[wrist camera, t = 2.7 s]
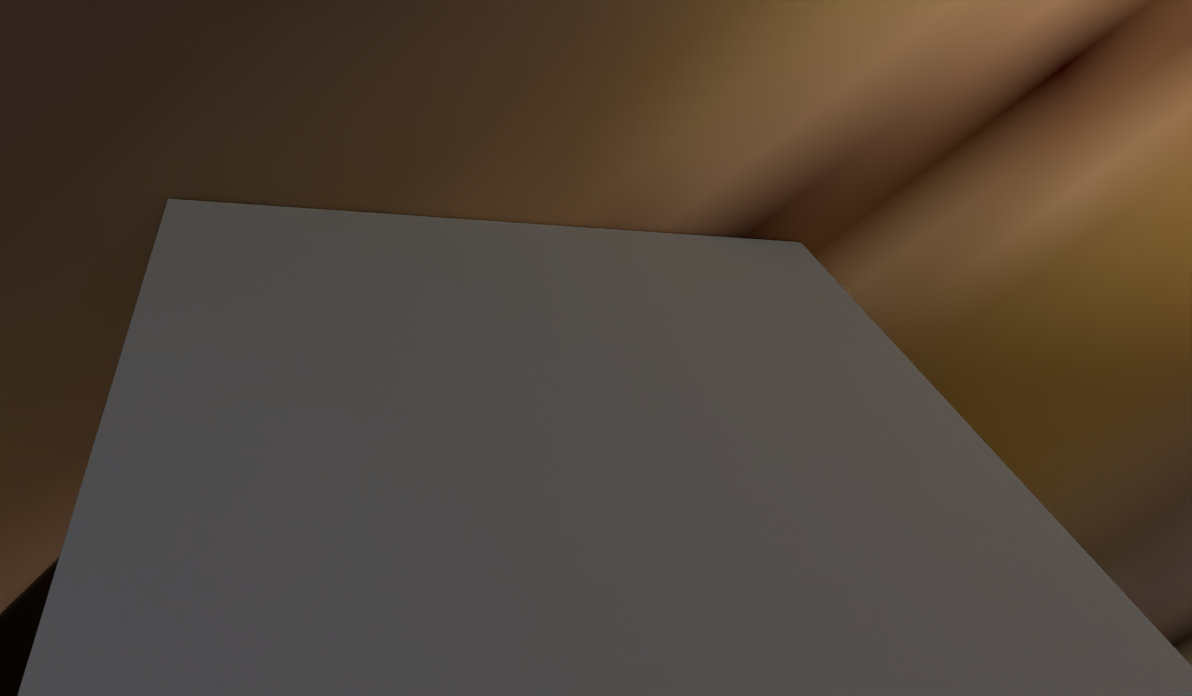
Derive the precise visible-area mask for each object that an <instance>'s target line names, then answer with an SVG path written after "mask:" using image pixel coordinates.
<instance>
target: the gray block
mask: <svg viewBox="0 0 1192 696" xmlns="http://www.w3.org/2000/svg"><path fill="white" fill-rule="evenodd" d="M18 696H1192V666H1191V665H1190V664H1189V663H1188V662H1187V661H1186V660H1185V659H1184V657H1183V656H1182V655H1181V654H1180V653H1179V652H1178V651H1177V650H1176V649H1175V648H1174V647H1173V645H1172V644H1171V643H1170V642H1169V641H1168V640H1167V639H1166V638H1165V637H1164V636H1163V635H1162V634H1161V632H1160V631H1159V630H1158V629H1157V628H1156V627H1155V626H1154V625H1153V624H1152V623H1151V622H1150V621H1149V619H1148V618H1147V617H1146V616H1145V615H1144V614H1143V613H1142V612H1141V611H1140V610H1139V609H1138V608H1137V606H1136V605H1135V604H1134V603H1133V602H1132V601H1131V600H1130V599H1129V598H1128V597H1127V596H1126V594H1125V593H1124V592H1123V591H1122V590H1121V589H1120V588H1119V587H1118V586H1117V585H1116V584H1115V583H1114V581H1113V580H1112V579H1111V578H1110V577H1109V576H1108V575H1107V574H1106V573H1105V572H1104V571H1103V570H1102V568H1101V567H1100V566H1099V565H1098V564H1097V563H1096V562H1095V561H1094V560H1093V559H1092V558H1091V557H1090V555H1089V554H1088V553H1087V552H1086V551H1085V550H1084V549H1083V548H1082V547H1081V546H1080V545H1079V543H1078V542H1077V541H1076V540H1075V539H1074V538H1073V537H1072V536H1071V535H1070V534H1069V533H1068V532H1067V530H1066V529H1065V528H1064V527H1063V526H1062V525H1061V524H1060V523H1059V522H1058V521H1057V520H1056V519H1055V517H1054V516H1053V515H1052V514H1051V513H1050V512H1049V511H1048V510H1047V509H1046V508H1045V507H1044V506H1043V504H1042V503H1041V502H1040V501H1039V500H1038V499H1037V498H1036V497H1035V496H1034V495H1033V494H1032V492H1031V491H1030V490H1029V489H1028V488H1027V487H1026V486H1025V485H1024V484H1023V483H1022V482H1021V481H1020V479H1019V478H1018V477H1017V476H1016V475H1015V474H1014V473H1013V472H1012V471H1011V470H1010V469H1009V468H1008V466H1007V465H1006V464H1005V463H1004V462H1003V461H1002V460H1001V459H1000V458H999V457H998V456H997V455H996V453H995V452H994V451H993V450H992V449H991V448H990V447H989V446H988V445H987V444H986V443H985V441H984V440H983V439H982V438H981V437H980V436H979V435H978V434H977V433H976V432H975V431H974V430H973V428H972V427H971V426H970V425H969V424H968V423H967V422H966V421H965V420H964V419H963V418H962V417H961V415H960V414H959V413H958V412H957V411H956V410H955V409H954V408H953V407H952V406H951V405H950V404H949V402H948V401H947V400H946V399H945V398H944V397H943V396H942V395H941V394H940V393H939V392H938V390H937V389H936V388H935V387H934V386H933V385H932V384H931V383H930V382H929V381H928V380H927V379H926V377H925V376H924V375H923V374H922V373H921V372H920V371H919V370H918V369H917V368H916V367H915V366H914V364H913V363H912V362H911V361H910V360H909V359H908V358H907V357H906V356H905V355H904V354H903V353H902V351H901V350H900V349H899V348H898V347H897V346H896V345H895V344H894V343H893V342H892V341H891V339H890V338H889V337H888V336H887V335H886V334H885V333H884V332H883V331H882V330H881V329H880V328H879V326H878V325H877V324H876V323H875V322H874V321H873V320H872V319H871V318H870V317H869V316H868V315H867V313H866V312H865V311H864V310H863V309H862V308H861V307H860V306H859V305H858V304H857V303H856V302H855V300H854V299H853V298H852V297H851V296H850V295H849V294H848V293H847V292H846V291H845V290H844V288H843V287H842V286H841V285H840V284H839V283H838V282H837V281H836V280H835V279H834V278H833V277H832V275H831V274H830V273H829V272H828V271H827V270H826V269H825V268H824V267H823V266H822V265H821V264H820V262H819V261H818V260H817V259H816V258H815V257H814V256H813V255H812V254H811V253H810V252H809V251H808V249H807V248H806V247H805V246H804V245H803V244H802V243H801V242H791V241H776V240H762V239H747V238H733V237H718V236H703V235H689V234H674V233H660V232H645V231H631V230H616V229H602V228H587V227H573V226H558V225H544V224H529V223H515V222H500V221H485V220H471V219H456V218H442V217H427V216H413V215H398V214H384V213H369V212H355V211H340V210H326V209H311V208H296V207H282V206H267V205H253V204H238V203H224V202H209V201H195V200H180V199H168V200H167V204H166V207H165V210H164V214H163V217H162V220H161V223H160V227H159V230H158V233H157V237H156V240H155V243H154V247H153V250H152V253H151V256H150V260H149V263H148V266H147V270H146V273H145V276H144V280H143V283H142V286H141V289H140V293H139V296H138V299H137V303H136V306H135V309H134V313H133V316H132V319H131V322H130V326H129V329H128V332H127V336H126V339H125V342H124V346H123V349H122V352H121V356H120V359H119V362H118V365H117V369H116V372H115V375H114V379H113V382H112V385H111V389H110V392H109V395H108V398H107V402H106V405H105V408H104V412H103V415H102V418H101V422H100V425H99V428H98V432H97V435H96V438H95V441H94V445H93V448H92V451H91V455H90V458H89V461H88V465H87V468H86V471H85V474H84V478H83V481H82V484H81V488H80V491H79V494H78V498H77V501H76V504H75V507H74V511H73V514H72V517H71V521H70V524H69V527H68V531H67V534H66V537H65V541H64V544H63V547H62V550H61V554H60V557H59V560H58V564H57V567H56V570H55V574H54V577H53V580H52V583H51V587H50V590H49V593H48V597H47V600H46V603H45V607H44V610H43V613H42V616H41V620H40V623H39V626H38V630H37V633H36V636H35V640H34V643H33V646H32V650H31V653H30V656H29V659H28V663H27V666H26V669H25V673H24V676H23V679H22V683H21V686H20V689H19V692H18Z"/></svg>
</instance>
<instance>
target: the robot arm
mask: <svg viewBox="0 0 1192 696" xmlns="http://www.w3.org/2000/svg"><path fill="white" fill-rule="evenodd" d="M58 560H59V558H58V559H57V560H56V561H55V562H54V563H53V564H52V565H51V566H49V567H48V568H47V569H46V570H45V571H44V572H43V573H42V574H41V575H40V576H39V577H38V578H37V579H36V580H35V581H34V582H33V583H32V584H31V585H30V586H29V587H28V588H27V589H26V590H25V591H24V592H22V593H21V594H20V595H19V596H18V597H17V598H16V599H15V600H14V601H13V602H12V603H11V604H10V605H9V606H8V607H7V608H6V609H5V610H4V611H3V612H2V613H1V614H0V696H18V692H19V689H20V686H21V683H22V679H23V676H24V673H25V669H26V666H27V663H28V659H29V656H30V653H31V650H32V646H33V643H34V640H35V636H36V633H37V630H38V626H39V623H40V620H41V616H42V613H43V610H44V607H45V603H46V600H47V597H48V593H49V590H50V587H51V583H52V580H53V577H54V574H55V570H56V567H57V564H58Z"/></svg>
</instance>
